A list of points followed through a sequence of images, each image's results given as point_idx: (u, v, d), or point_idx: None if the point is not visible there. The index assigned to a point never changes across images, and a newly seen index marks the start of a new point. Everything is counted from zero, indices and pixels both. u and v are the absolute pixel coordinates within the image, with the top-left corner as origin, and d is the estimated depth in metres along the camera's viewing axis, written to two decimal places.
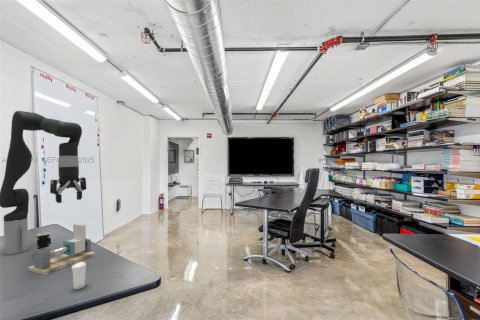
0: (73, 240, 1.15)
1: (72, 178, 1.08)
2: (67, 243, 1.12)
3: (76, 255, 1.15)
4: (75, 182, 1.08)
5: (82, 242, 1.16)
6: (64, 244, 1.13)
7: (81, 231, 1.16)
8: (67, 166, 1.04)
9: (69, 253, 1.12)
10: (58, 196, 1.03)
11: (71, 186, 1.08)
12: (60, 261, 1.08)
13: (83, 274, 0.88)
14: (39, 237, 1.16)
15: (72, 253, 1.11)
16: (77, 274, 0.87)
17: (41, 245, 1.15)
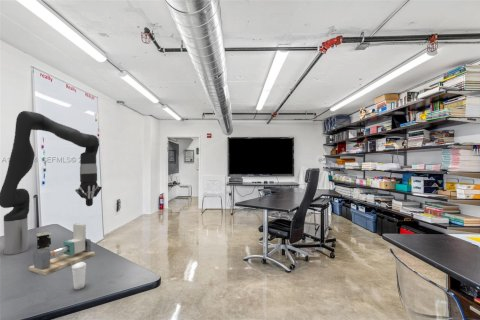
0: (73, 240, 1.15)
1: (91, 183, 1.23)
2: (67, 243, 1.12)
3: (76, 255, 1.15)
4: (93, 187, 1.23)
5: (82, 242, 1.16)
6: (64, 244, 1.13)
7: (81, 231, 1.16)
8: (87, 173, 1.19)
9: (69, 253, 1.12)
10: (88, 200, 1.21)
11: (91, 190, 1.22)
12: (60, 261, 1.08)
13: (83, 274, 0.88)
14: (39, 237, 1.16)
15: (72, 253, 1.11)
16: (77, 274, 0.87)
17: (41, 245, 1.15)
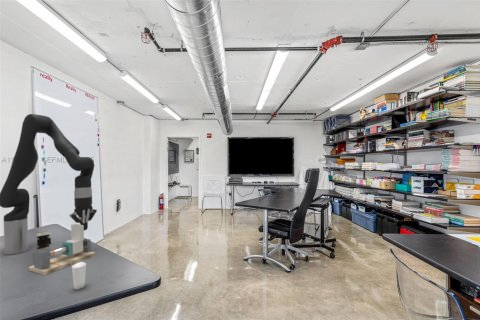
0: (71, 241, 1.14)
1: (86, 207, 1.20)
2: (66, 243, 1.12)
3: (76, 255, 1.15)
4: (88, 211, 1.20)
5: (80, 243, 1.15)
6: (63, 244, 1.12)
7: (79, 231, 1.15)
8: (82, 197, 1.16)
9: (68, 253, 1.11)
10: None
11: (85, 214, 1.20)
12: (60, 261, 1.08)
13: (83, 274, 0.88)
14: (39, 237, 1.16)
15: (71, 253, 1.11)
16: (77, 274, 0.87)
17: (41, 245, 1.15)
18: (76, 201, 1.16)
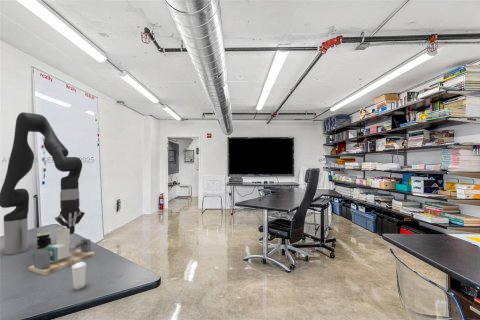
0: (56, 245, 1.08)
1: (73, 210, 1.14)
2: (50, 248, 1.06)
3: (76, 255, 1.15)
4: (75, 214, 1.14)
5: (66, 247, 1.09)
6: (47, 249, 1.07)
7: (64, 235, 1.09)
8: (68, 199, 1.10)
9: (52, 259, 1.05)
10: (69, 228, 1.13)
11: (72, 217, 1.14)
12: (60, 261, 1.08)
13: (83, 274, 0.88)
14: (39, 237, 1.16)
15: (55, 259, 1.05)
16: (77, 274, 0.87)
17: (41, 245, 1.15)
18: (62, 203, 1.10)
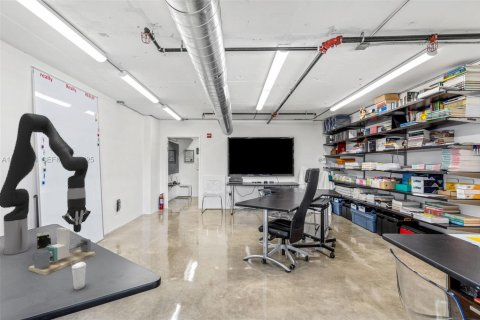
0: (56, 245, 1.08)
1: (80, 208, 1.17)
2: (50, 248, 1.06)
3: (76, 255, 1.15)
4: (81, 212, 1.17)
5: (66, 248, 1.09)
6: (47, 249, 1.06)
7: (64, 235, 1.09)
8: (75, 198, 1.13)
9: (52, 259, 1.05)
10: (76, 226, 1.15)
11: (79, 216, 1.16)
12: (60, 261, 1.08)
13: (83, 274, 0.88)
14: (39, 237, 1.16)
15: (55, 259, 1.05)
16: (77, 274, 0.87)
17: (41, 245, 1.15)
18: (69, 202, 1.13)
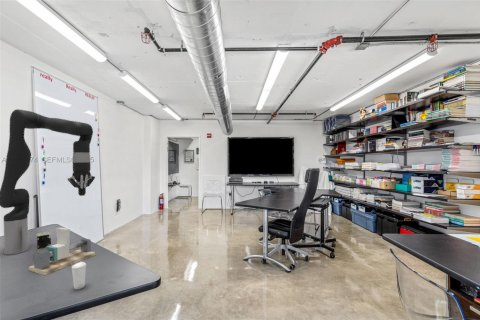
0: (56, 245, 1.08)
1: (84, 173, 1.20)
2: (50, 248, 1.06)
3: (76, 255, 1.15)
4: (86, 176, 1.20)
5: (66, 248, 1.09)
6: (47, 249, 1.06)
7: (64, 235, 1.09)
8: (80, 162, 1.17)
9: (52, 259, 1.05)
10: (80, 190, 1.19)
11: (83, 180, 1.20)
12: (60, 261, 1.08)
13: (83, 274, 0.88)
14: (39, 237, 1.16)
15: (55, 259, 1.05)
16: (77, 274, 0.87)
17: (41, 245, 1.15)
18: (74, 165, 1.16)
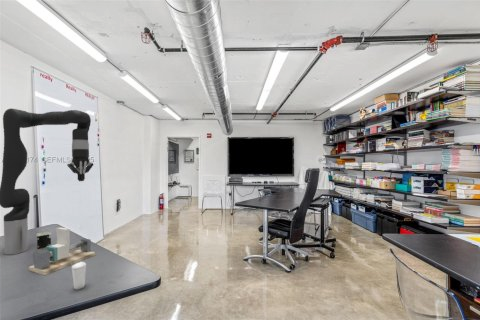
0: (56, 245, 1.08)
1: (83, 159, 1.26)
2: (50, 248, 1.06)
3: (76, 255, 1.15)
4: (85, 163, 1.26)
5: (66, 248, 1.09)
6: (47, 249, 1.06)
7: (64, 235, 1.09)
8: (79, 148, 1.22)
9: (52, 259, 1.05)
10: (80, 175, 1.24)
11: (82, 166, 1.25)
12: (60, 261, 1.08)
13: (83, 274, 0.88)
14: (39, 237, 1.16)
15: (55, 259, 1.05)
16: (77, 274, 0.87)
17: (41, 245, 1.15)
18: (73, 152, 1.22)
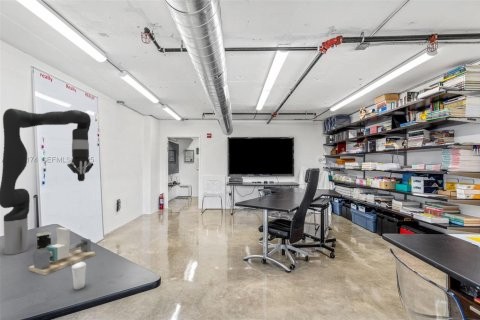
0: (56, 245, 1.08)
1: (83, 159, 1.26)
2: (50, 248, 1.06)
3: (76, 255, 1.15)
4: (85, 163, 1.26)
5: (66, 248, 1.09)
6: (47, 249, 1.06)
7: (64, 235, 1.09)
8: (79, 148, 1.22)
9: (52, 259, 1.05)
10: (80, 175, 1.24)
11: (82, 166, 1.25)
12: (60, 261, 1.08)
13: (83, 274, 0.88)
14: (39, 237, 1.16)
15: (55, 259, 1.05)
16: (77, 274, 0.87)
17: (41, 245, 1.15)
18: (73, 152, 1.22)
